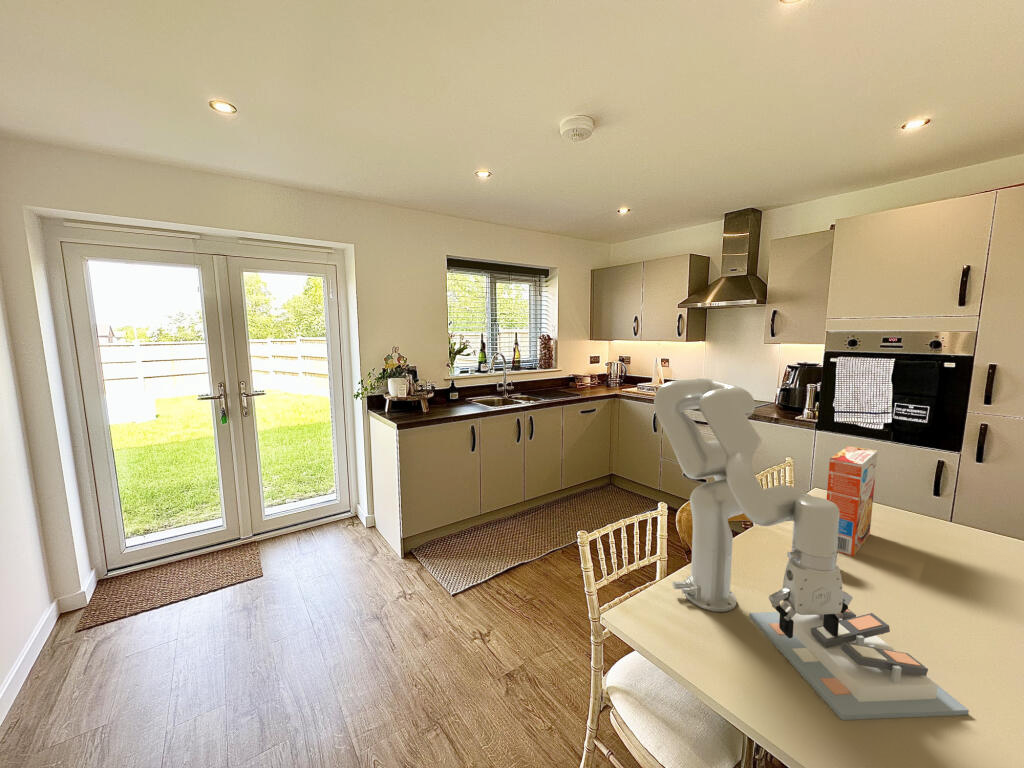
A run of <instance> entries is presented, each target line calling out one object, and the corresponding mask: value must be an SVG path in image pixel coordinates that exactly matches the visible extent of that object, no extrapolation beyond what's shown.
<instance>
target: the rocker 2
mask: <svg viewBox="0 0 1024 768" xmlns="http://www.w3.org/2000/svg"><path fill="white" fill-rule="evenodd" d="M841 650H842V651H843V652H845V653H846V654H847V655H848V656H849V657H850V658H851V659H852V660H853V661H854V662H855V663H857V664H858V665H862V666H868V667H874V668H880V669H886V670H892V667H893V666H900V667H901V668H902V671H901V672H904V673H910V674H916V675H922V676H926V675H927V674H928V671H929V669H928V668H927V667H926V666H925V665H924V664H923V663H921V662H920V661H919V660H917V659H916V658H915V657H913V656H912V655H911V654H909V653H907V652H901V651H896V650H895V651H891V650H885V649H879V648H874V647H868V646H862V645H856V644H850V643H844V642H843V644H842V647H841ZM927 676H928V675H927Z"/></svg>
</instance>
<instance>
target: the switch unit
mask: <svg viewBox="0 0 1024 768" xmlns="http://www.w3.org/2000/svg"><path fill="white" fill-rule="evenodd" d="M790 608H791V607H790V606H789V607H788V608H787V609H786V610H785V611H786V612H788V611H789V609H790ZM748 615H749V619H750V620H752V622H754V624H755V625H756V626H757V627H758V628H759V629H760V630H761V631H762V632H763V634H764V635H765V636H766V637H767V638H768V639H769V640H770V641H771V643H772V644H773V645H774V646H775V647H776V649H778V650H779V651H780V653H781V654H782V655H783V656H784V657H785V659H787V661H789V663H790V664H791V666H793V667H794V669H795V670H796V671H797V672H798V673H799V674H800V675H801V676H802V677H803V678H804V679H805V681H806V682H807V683H808V684H809V685H810V686H811V687H812V688H813V690H814V691H815V692H816V693H817V695H819V696H820V698H821V699H822V700H823V701H824V702H825V703H826V704H827V705H828V706H829V708H831V710H832V711H833V712H834V713H835V715H836V716H837V717H839V719H840V720H841V721H848V720H849V721H850V720H851V721H852V720H872V719H873V720H874V719H875V720H876V719H896V718H897V719H899V718H902V719H903V718H919V717H920V718H921V717H922V718H923V717H941V716H942V717H948V716H949V717H951V716H969V712H970V709H968V708H967V707H966V706H964V705H963V704H962V703H961V702H960V701H958V700H957V699H956V698H954V697H953V696H952V695H951V694H949V693H948V691H946V690H945V689H943V688H942V687H940V685H939V684H938V683H936V681H934V680H933V679H932V678H931V677H929V676H928V675H926V676H922V675H916V674H910V673H904V672H901V671H902V668H901V667H900V666H893V667H892V670H886V669H880V668H874V667H868V666H862V665H858V664H857V663H855V662H854V661H853V660H852V659H851V658H850V657H849V656H848V655H847V654H846V653H845V652H843V651H842V650H841V647H842V644H840V645H836V646H832V647H828V648H825V647H824V646H823V645H822V644H821V643H820V642H819V641H818V640H817V639H816V638H815V637H814V636H813V635H812V634H811V629H810V628H814V627H818V626H822V625H823V621H824V614H822V615H800V614H797V613H796V614H795V615H794V616H793V617H792V618H791V619H792V620H793V622H794V624H793V637H792V638H788V637H787V636H786V635H785V634H784V633H783V632H782V631H781V629H780V627H779V619H780V613H779V612H778V611H771V612H769V611H767V612H749V614H748ZM842 620H846V619H843V618H841V619H839V621H842ZM848 643H850V644H856V645H862V646H868V647H874V648H879V649H885V650H891V651H896V650H895V649H894V648H893V647H891V646H890V645H889V644H888V643H887V642H885V641H884V640H883V639H882V638H881V637H879V635H876V636H872V637H868V638H864V637H863V636H862V635H861V636H856V641H852V642H848Z"/></svg>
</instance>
